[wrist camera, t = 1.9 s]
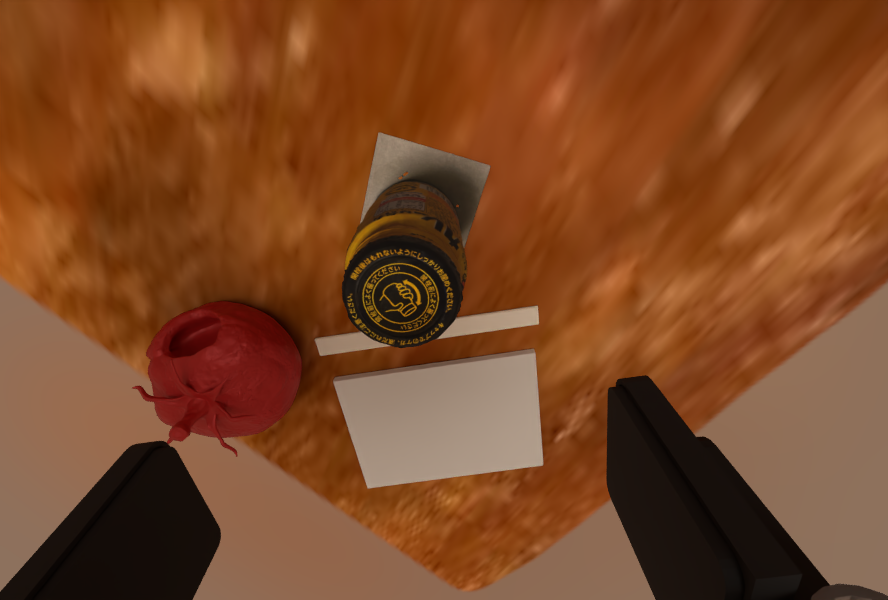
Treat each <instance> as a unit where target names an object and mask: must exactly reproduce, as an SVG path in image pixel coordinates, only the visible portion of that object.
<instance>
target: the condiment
mask: <svg viewBox="0 0 888 600" xmlns="http://www.w3.org/2000/svg"><path fill="white" fill-rule="evenodd" d="M489 170H490V165H486V164H483V163H479V162H477V161H473V160H470V159H467V158H463V157H460V156H456V155H454V154H450V153H447V152H443V151H440V150H437V149H433V148H430V147H426V146H424V145H420V144H417V143H413V142H410V141H407V140H403V139H400V138H396V137H393V136H390V135H386V134H383V133H378V138H377V143H376V148H375V153H374V158H373V162H372V167H371V173H370V177H369V182H368V187H367V192H366V197H365V202H364V207H363V212H362V217H361V222H360V225H359V226H358V227H357V232H356V233H355V235H354V237H353V239H352V241H351V243H350V245H349V247H348V249H347V255H346V260H345V274H344V281H343V282H342V297H343V301H344V303H345V307H346V309H347V313H348V317H349V319H350V320H351V322H352V323H353V324H354V325H355V326H356V328H357V329H358V330H360V331H361V332H362V333H364V334H365V335H366V336H367V337H369V338H370V339H372V340H374V341H377V342H379V343H383V344H387V345H390V346H393V347H399V348H405V347H415V346H419V345H422V344H424V343H427V342H429V341H431V340H434V339H437V338H439V337H440V336H441V335H442V334H443V333H444V332H445V331H446V330H447V329H448V327H449V326H450V325H451V324H452V323H453V322H454V321H455V319H456V317H457V314H458V312H459V311H460V307H461V301H462V300H463V295H462V291H463V289H464V284H465V281H466V277H467V261H466V256H465V251H464V247H465V244H466V241H467V237H468V234H469V231H470V228H471V225H472V222H473V220H474V217H475V213H476V210H477V207H478V204H479V200H480V197H481V194H482V191H483V188H484V185H485V182H486V179H487V176H488V173H489ZM405 172H408V174H407V175H406V176H403V174H404V173H405ZM401 176H402V177H403V178H402V179H401V180H399V179H398V178H399V177H401ZM457 204H458V205H459V208H458V207H456V205H457Z"/></svg>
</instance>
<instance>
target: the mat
mask: <svg viewBox="0 0 888 600" xmlns="http://www.w3.org/2000/svg"><path fill="white" fill-rule="evenodd" d="M333 383H334V386H335V389H336V392H337V395H338V398H339V401H340V404H341V408H342V411H343V414H344V417H345V420H346V423H347V426H348V429H349V432H350V435H351V438H352V441H353V444H354V447H355V450H356V454H357V457H358V460H359V463H360V466H361V469H362V472H363V475H364V478H365V481H366V484H367V487H368V488H374V487H382V486H389V485H397V484H405V483H412V482H420V481H427V480H435V479H443V478H450V477H458V476H466V475H473V474H481V473H488V472H496V471H504V470H511V469H519V468H526V467H534V466H542V465H543V454H542V440H541V426H540V411H539V397H538V383H537V369H536V355H535V351H534V349H528V350H521V351H514V352H507V353H500V354H493V355H486V356H479V357H472V358H465V359H458V360H451V361H444V362H437V363H430V364H423V365H416V366H409V367H402V368H395V369H388V370H381V371H374V372H367V373H360V374H354V375H347V376H340V377H335V378H334V381H333Z"/></svg>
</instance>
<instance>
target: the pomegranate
mask: <svg viewBox="0 0 888 600" xmlns="http://www.w3.org/2000/svg"><path fill="white" fill-rule="evenodd" d="M146 356H147V357H149V359H151V361H150V364H149V367H148V375H149V378H150V380H151V382H152V388H153V395H154V396H150V395H148V394H147V393H146V392H145V390H144V389H143V388H142V387H141V386H135V387H133V389H138V390H139V392H140V393H141V395H142V397H143V399H145V400H146V401H150V402H151V401H152V402H154V403H155V410H156V413H157V416H158V417H159V419H160V420H161V421H162V422H164V423H165V424H167V425H170V426H172V428H171V430H170V432H169V437H170V438H169V440H168V441H167V443H168V444H169V443H171V442H172V441H173V440H176V441H183V440H184V439H185V438H186V437H188V436H189V435H190V432H193V433H196V434H199V435H204V436H208V437H217V438H218V439H219V440H220V443H221V445H222V446H223V447H225V448H228V449H230V450H232V451H233V452H234V453H235V454H236V456H237V451H236V450H235V449H234V448H232V447H231V446H229V445H227V444H226V443H224V441H223V439H222V438H227V437H238V436H248V435H253V434H258V433H260V432H262V431H264V430H266V429H267V428H269V427H270V426H272V425H273V424H274V423H276V422H277V421H278V420H280V419H281V418H282V417H283V416H284V415H285V414H286V412H287V411H288V410H289V409H290V407H291V405H292V403H293V401H294V399H295V397H296V394H297V391H298V387H299V384H300V378H301V370H302V359H301V357H300V354H299V351H298V349H297V347H296V345H295V343H294V341H293V340H292V338H291V337H290V336H289V334H288V333H287V332H286V331H285V329H284V328H283V327H282V326H281V325H279V324H278V323H277V322H276V321H275V320H274V319H273V318H272V317H270V316H269V315H267V314H266V313H264V312H262V311H259V310H257V309H255V308H252V307H249V306H247V305H244V304H239V303H233V302H229V301H218V302H211V303H208V304H204V305H202V306H200V307H198V308H195V309H193V310H190V311H187V312H184V313H182V314H180V315H178V316H176V317H175V318H173V319H172V320H170V321H168V322H167V323H166V324H165V325H164V326H163V327H162V328H161V330H160V331H159V332H158V333H157V334H156V336H155V337H154V338H153V340H152V342H151V345H150V346H149V348H148V350H147V352H146Z"/></svg>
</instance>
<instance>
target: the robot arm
mask: <svg viewBox="0 0 888 600" xmlns="http://www.w3.org/2000/svg"><path fill="white" fill-rule="evenodd" d="M607 487H608V491H609V494H610V497H611V500H612V502H613V504H614V506H615V509H616V511H617V513H618V516H619V518H620V520H621V522H622V525H623V527H624V529H625V531H626V533H627V536H628V538H629V540H630V543H631V545H632V547H633V549H634V552H635V554H636V556H637V558H638V561H639V563H640V565H641V568H642V570H643V572H644V574H645V577H646V579H647V581H648V583H649V585H650V588H651V590H652V592H653V595H654V597H655V599H656V600H888V596H887V595H885V594H883V593H880V592H877V591H874V590H871V589H868V588H864V587H861V586H857V585H847V584H835V585H829V583H828V582H827V581H826V580H825V578H824V577H823V576H822V575H821V574H820V572H819V571H818V570H817V569H816V567H815V566H814V565H813V564H812V563H811V561H810V560H809V559H808V558H807V557H806V555H805V554H804V553H803V552H802V550H801V549H800V548H799V547H798V545H797V544H796V543H795V542H794V541H793V539H792V538H791V537H790V536H789V534H788V533H787V532H786V531H785V530H784V528H783V527H782V526H781V525H780V523H779V522H778V521H777V520H776V519H775V517H774V516H773V515H772V514H771V512H770V511H769V510H768V509H767V507H765V505H764V504H763V503H762V501H761V500H760V499H759V498H758V496H757V495H756V494H755V493H754V491H753V490H752V489H751V488H750V487H749V485H748V484H747V483H746V482H745V481H744V479H743V478H742V477H741V476H740V474H739V473H738V472H737V471H736V469H735V468H734V467H733V466H732V465H731V463H730V462H729V461H728V460H727V459H726V457H725V456H724V455H723V454H722V452H721V451H720V450H719V449H718V447H717V446H716V445H715V444H714V443H713V442H712V441H711V440H709V439H708V438H706V437H696V436H695V435H694V434H693V432H692V431H691V430H690V429H689V427H688V426H687V425H686V423H685V422H684V421H683V420H682V418H681V417H680V416H679V414H678V413H677V412H676V411H675V409H674V408H673V407H672V405H671V404H670V403H669V402H668V400H667V399H666V398H665V396H664V395H663V394H662V393H661V391H660V390H659V389H658V387H657V386H656V385H655V384H654V382H653V381H652V380H651V379H650V378H649V377H648V376H646V375H645V376H637V377H630V378H623V379H618V380H617V382H616V387H610V388H609V389H608V417H607ZM220 539H221V532H220V528H219V526H218V524H217V522H216V521H215V518H214V517H213V515H212V513H211V511H210V510H209V508H208V506H207V504H206V503H205V501H204V499H203V497H202V495H201V494H200V492H199V490H198V488H197V486H196V485H195V483H194V481H193V479H192V478H191V476H190V474H189V472H188V470H187V469H186V467H185V465H184V463H183V462H182V460H181V458H180V456H179V454H178V453H177V451H176V450H175V448H173V447H170V446H169V445H168V443H166V442H164V441H155V442H147V443H141V444H135V445H132V446H130V447H129V448H128V449H127V450H126V451H125V452H124V453H123V454H122V455H121V456H120V457H119V459H118V460H117V461H116V462H115V463H114V464H113V466H111V468H110V469H109V470H108V471H107V472H106V473H105V474H104V475H103V477H102V478H101V479H100V480H99V481H98V482H97V484H95V486H94V487H93V488H92V489H91V490H90V491H89V492H88V494H87V495H86V496H85V497H84V498H83V499H82V500H81V502H80V503H79V504H78V505H77V506H76V507H75V508H74V509H73V511H72V512H71V513H70V514H69V515H68V516H67V517H66V518H65V520H64V521H63V522H62V523H61V524H60V525H59V526H58V528H57V529H56V530H55V531H54V532H53V533H52V534H51V535H50V537H48V539H47V540H46V541H45V542H44V543H43V544H42V545H41V546H40V548H39V549H38V550H37V551H36V552H35V553H34V554H33V556H32V557H31V558H30V559H29V560H28V561H27V562H26V563H25V565H24V566H23V567H22V568H21V569H20V570H19V571H18V573H17V574H16V575H15V576H14V577H13V578H12V579H11V580H10V581H9V583H8V584H7V585H6V586H5V587H4V588H3V589H2V590H1V592H0V600H193V597H194V595H195V593H196V591H197V589H198V587H199V585H200V583H201V581H202V579H203V576H204V575H205V573H206V571H207V568H208V567H209V565H210V563H211V561H212V559H213V557H214V554H215V552H216V550H217V548H218V546H219V543H220Z"/></svg>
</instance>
